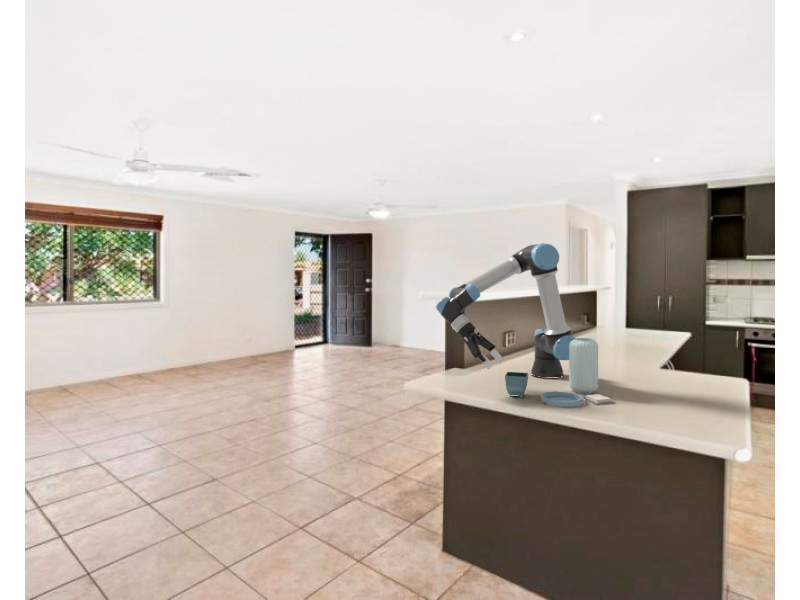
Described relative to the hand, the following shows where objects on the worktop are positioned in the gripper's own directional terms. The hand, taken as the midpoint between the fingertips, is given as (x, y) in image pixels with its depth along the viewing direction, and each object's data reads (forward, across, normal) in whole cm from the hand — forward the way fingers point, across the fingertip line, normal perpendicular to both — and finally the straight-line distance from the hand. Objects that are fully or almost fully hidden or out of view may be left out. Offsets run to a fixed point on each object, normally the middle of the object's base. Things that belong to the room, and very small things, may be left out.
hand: (496, 364), depth 200 cm
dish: (+28, +1, +10) cm, 29 cm away
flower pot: (+15, -1, -3) cm, 15 cm away
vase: (+31, -20, +13) cm, 39 cm away
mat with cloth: (+36, -7, +19) cm, 41 cm away
